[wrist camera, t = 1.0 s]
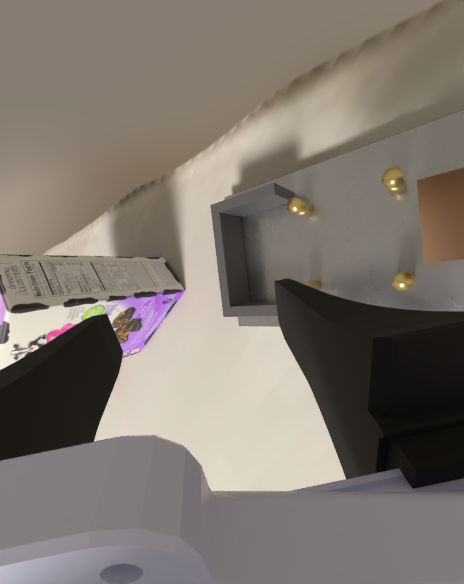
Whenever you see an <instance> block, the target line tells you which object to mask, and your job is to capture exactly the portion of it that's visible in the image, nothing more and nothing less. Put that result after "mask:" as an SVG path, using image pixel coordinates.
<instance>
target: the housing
mask: <svg viewBox="0 0 464 584" xmlns="http://www.w3.org/2000/svg"><path fill="white" fill-rule="evenodd" d="M292 197H293V195H292V191H290V190H288V189H286V188H284V187H282V186H280V185H278V184H276V183H271V184H268V185H265V186H263V187H260V188H257V189H254V190H251V191H249V192H246V193H243V194H240V195H237V196H235V197H232V198H229V199H226V200H224V201H221V202H218V203H215V204H212V205H211V213H212V221H213V230H214V238H215V247H216V256H217V264H218V273H219V281H220V290H221V299H222V307H223V316H224V317H238V316H278V314H277V304H276V301H261V302H250V295H249V286H248V277H247V268H246V259H245V250H244V241H243V232H242V223H241V217H243V216H247V215H250V214H254V213H257V212H260V211H264V210H267V209H270V208H274V207H277V206H281V205H284V204H287V202H288V200H289V199H290V198H292Z"/></svg>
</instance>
